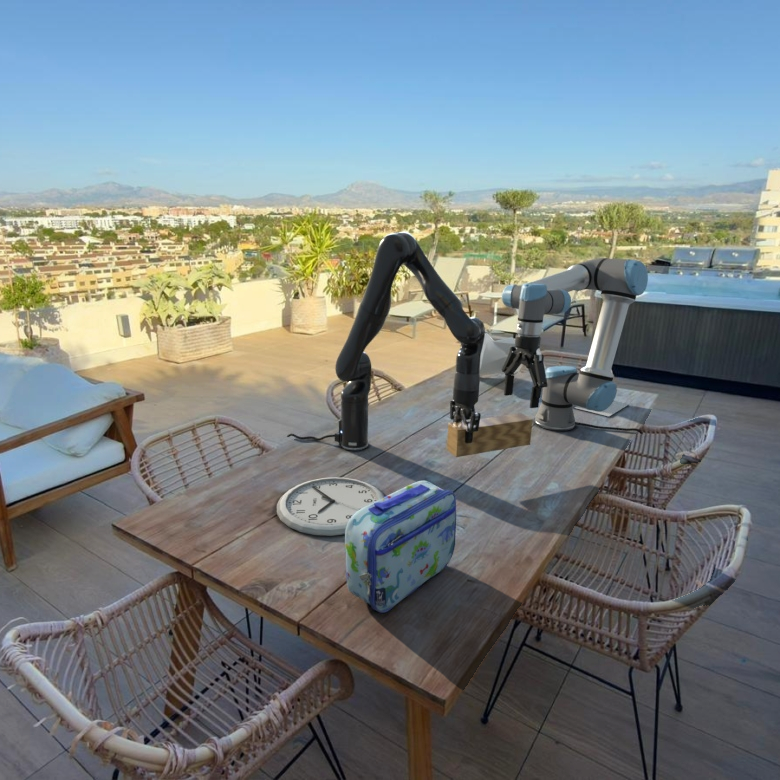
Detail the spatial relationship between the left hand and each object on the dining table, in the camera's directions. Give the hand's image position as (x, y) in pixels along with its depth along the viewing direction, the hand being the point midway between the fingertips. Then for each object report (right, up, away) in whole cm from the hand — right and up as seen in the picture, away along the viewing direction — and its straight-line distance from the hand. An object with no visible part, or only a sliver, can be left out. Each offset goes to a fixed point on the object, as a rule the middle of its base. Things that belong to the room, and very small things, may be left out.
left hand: (462, 438), depth 159 cm
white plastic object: (+34, +18, +99) cm, 106 cm away
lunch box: (-20, -27, -47) cm, 57 cm away
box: (+9, -3, +5) cm, 11 cm away
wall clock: (-38, -17, -16) cm, 44 cm away
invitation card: (+69, +7, +67) cm, 97 cm away
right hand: (+19, +11, +7) cm, 23 cm away
